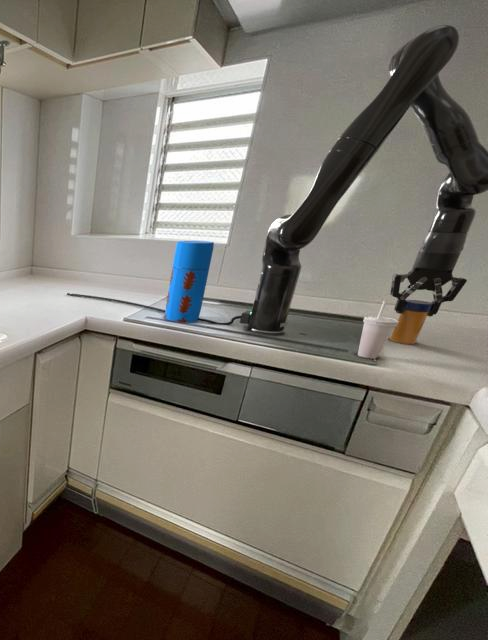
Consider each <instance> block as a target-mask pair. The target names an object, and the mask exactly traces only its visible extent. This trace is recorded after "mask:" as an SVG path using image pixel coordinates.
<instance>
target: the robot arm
mask: <svg viewBox="0 0 488 640" xmlns="http://www.w3.org/2000/svg"><path fill="white" fill-rule="evenodd" d="M459 43H460V34H459V31H458V29H457V28H456V27H455V26H454V25H451V24H441V25H436V26H433V27H431V28H429V29H428V28H427V29H426V30H424V31H422V32H420V33H419V34H417V35H416V36H415V37H413V38H412V39H410V40H409V41H407V42H406V43H405V44H403V45H402V46H401V47H399V48H398V49H397V50H396V51H395V53H394V54H393V55H392V56H391V58H390V60H389V62H388V64H387V74H388V77H389V79H388V81H387V82H386V84H385V85H384V86H383V88H382V89H381V90H380V92H379V93H378V94H377V95H376V97H375V98H374V99H373V100H371V102H370V103H369V104H368V105H367V106H366V107H365V108H364V109H362V111H361V112H360V113H359V114H358V115H357V116H356V117H355V118H354V120H353V121H352V122H351V123H350V124H349V125H348V126H347V127H346V128H345V129H344V131H343V132H342V133H341V135H340V136H339V137H338V138H337V139H336V141H335V142H334V144H333V145H332V147H331V148H330V150H329V151H328V152H327V154H326V155H325V157H324V158H323V160H322V162H321V164H320V166H319V169H318V171H317V174H316V177H315V179H314V182H313V185H312V186H311V189H310V191H309V192H308V194H307V196H306V197H305V198H304V199H303V201H302V202H301V203H300V205H299V206H298V208H296V210H295V211H294V212H293V213H292V214H285V215H282V216H280V217H278V218H277V219H275V220H274V221H273V222H272V223H271V225H270V227H269V229H268V231H267V234H266V239H265V241H264V242H265V243H264V247H263V252H262V257H261V272H260V275H259V280H258V283H257V288H256V292H255V296H254V298H253V302H252V307H251V309H250V310H245V311H243V312H241V315H237V316H234V317H232V318H231V319H230V321H227V322H218V321H214V320H211V319H207V318H200V317H199V318H198V321H199V322H205V323H209V324H212V325H225V326H230V325H232V324H234V322H235V321H236V320H239V324H244V325H246V331H248V332H253V333H257V334H262V335H272V336H278V335H282V334H284V331H285V327H287V324H288V322H287V320H288V316H289V313H290V309H291V305H292V302H293V298H294V295H295V292H296V288H297V285H298V281H299V278H300V274H301V271H302V264H301V262H300V252H301V250H302V249H304V248H306V247H307V246H308V245H310V244H311V243H312V242H313V241H314V240H315V239H316V237H317V235H318V234H319V233H320V231H321V230H322V228H323V226H324V225H325V223H326V221H327V220H328V218H329V217H330V215H331V213H332V212H333V211H334V209H335V207H336V206H337V204H338V203H339V201H340V200H341V199H342V198H343V197H344V195H345V194H346V193H347V192H348V191H349V189H350V188H351V187H352V185H353V184H354V183H355V181H356V180H357V179H358V177H359V176H360V175H361V174H362V172H363V171H364V170H365V168H366V167H367V166H368V165H369V163H370V162H371V161H372V159H373V158H374V157H375V156H376V154H377V153H378V152H379V150H380V149H381V147H382V146H383V144H384V143H385V142H386V140H387V139H388V138H389V136H390V135H391V134H392V132H393V131H394V130H395V128H396V127H397V126H398V124H399V123H400V121H401V120H402V119H403V117H404V116H405V114H406V113H407V111H408V110H410V109H411V110H412V112H413V113H414V115H415V117H416V119H417V120H418V122H419V124H420V126H421V127H422V130H423V132H424V134H425V136H426V139H427V142H428V144H429V146H430V148H431V152H432V153H433V156H434V158H435V160H436V161H437V162H438V163H439V164H440V165H444V166H446V167H447V169H448V171H449V172H448V173H447V174H446V175H445V177H444V178H443V180H442V182H441V184H440V185H439V187H438V188H439V189H438V192H437V197H436V202H435V214H434V216H433V217H432V220H431V223H430V225H429V228H428V230H427V233H426V235H425V236H424V238H423V240H422V241H421V245H420V247H419V250H418V252H417V255H416V257H415V259H414V263H413V264H412V268H411V269H410V271H408V272H407V273H402V274H401V273H400V274H398V273H394V274H392V277H391V278H392V279H391V287H390V293H389V294H390V296H392V297H394V298H396V299H397V300H396V302H395V305H394V308H393V309H394V311H395V313H396V314H399V315H400V314H401V313H402V311H403V308H404V306H405V303H406V300H407V299H408V298H409V297H410V296H411V295H412V294H413V293H415V292H416V291H422V290H423V291H424V290H426V291H429V292H431V294H432V299H433V301H430V302H431V303H433V306H432V308H431V311H429V313H428V315H427V317H433V316H434V315H435V316H436V315H437V314H438V312H439V310H440V307H441V305H442V304H443V303H446V302H452V301H454V300H455V299H456V297H457V296H458V294H459V293H460V292H461V291H462V289H463V287H464V286H465V285H466V283H467V282H468V279H466V278H464V277H457V276H454V275H453V271H454V270H455V267H456V265H457V262H458V260H459V258H460V255H461V253H462V251H463V250H464V247H465V244H466V242H467V237H468V233H469V232H470V229H471V227H472V224H473V223H474V219H475V218H476V214H477V211H476V209H475V208H474V207H473V206H472V205H473V200H474V196H477V195H480V194H483V193H485V192H487V191H488V149H487V148H486V147H485V146H484V145H483V144H482V143H481V141H480V138H479V136H478V133H477V130H476V128H475V125H474V123H473V120H472V119H471V116H470V115H469V113H468V112H467V111H466V109H465V108H464V107H463V106H462V105H461V104H459V103H458V102H457V101H456V100H455V98H454V97H452V96H451V95H450V93H448V91H447V89H445V87H444V85H443V83H442V81H441V79H440V74H439V73H441V72H442V70H443V69H444V68H445V67H446V66H447V65H448V64H449V62H450V61H451V60H452V58H453V57H454V55H455V53H456V52H457V49H458V47H459ZM409 108H410V109H409ZM406 279H407V281H408V284H407V286H406V287H404V289H403V290H402V291H401V292H400V289H401V283H403V282H404V281H405V280H406ZM449 282H450V285H451V286H450V288H449V289H448V291H447V292H446V293H445V295H443V286H445V285H446V284H447V283H449ZM70 293H71V292H67V293H66V295H67V296H72V297H82V298H90V299H96V300H104V301H109V302H110V301H111V302H116V303H121V304H126V305H131V306H136V307H140V308H143V309H144V308H145V309H149V310H153V311H157V312H161V313H165V311H166V309H162V308H158V307H154V306H150V305H146V304H141V303H136V302H131V301H127V300H121V299H115V298H110V297H109V298H108V297H104V296H103V297H102V296H96V295H88V294H79V293H72V294H70ZM198 321H197V322H198Z"/></svg>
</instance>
